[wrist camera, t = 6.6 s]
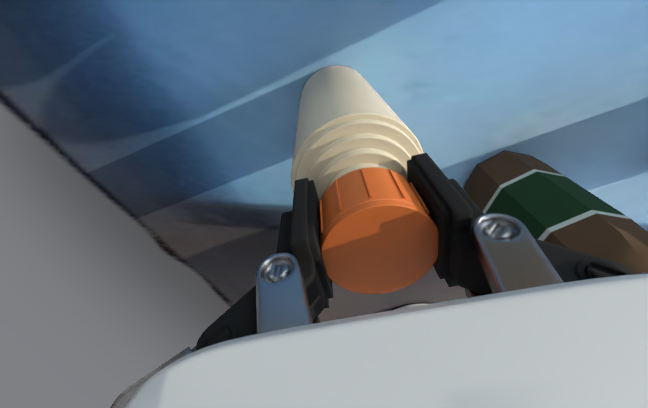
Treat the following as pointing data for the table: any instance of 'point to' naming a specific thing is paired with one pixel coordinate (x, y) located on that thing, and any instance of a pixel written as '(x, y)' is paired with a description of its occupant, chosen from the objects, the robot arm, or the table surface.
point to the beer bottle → (557, 209)
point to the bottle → (347, 130)
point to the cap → (375, 232)
